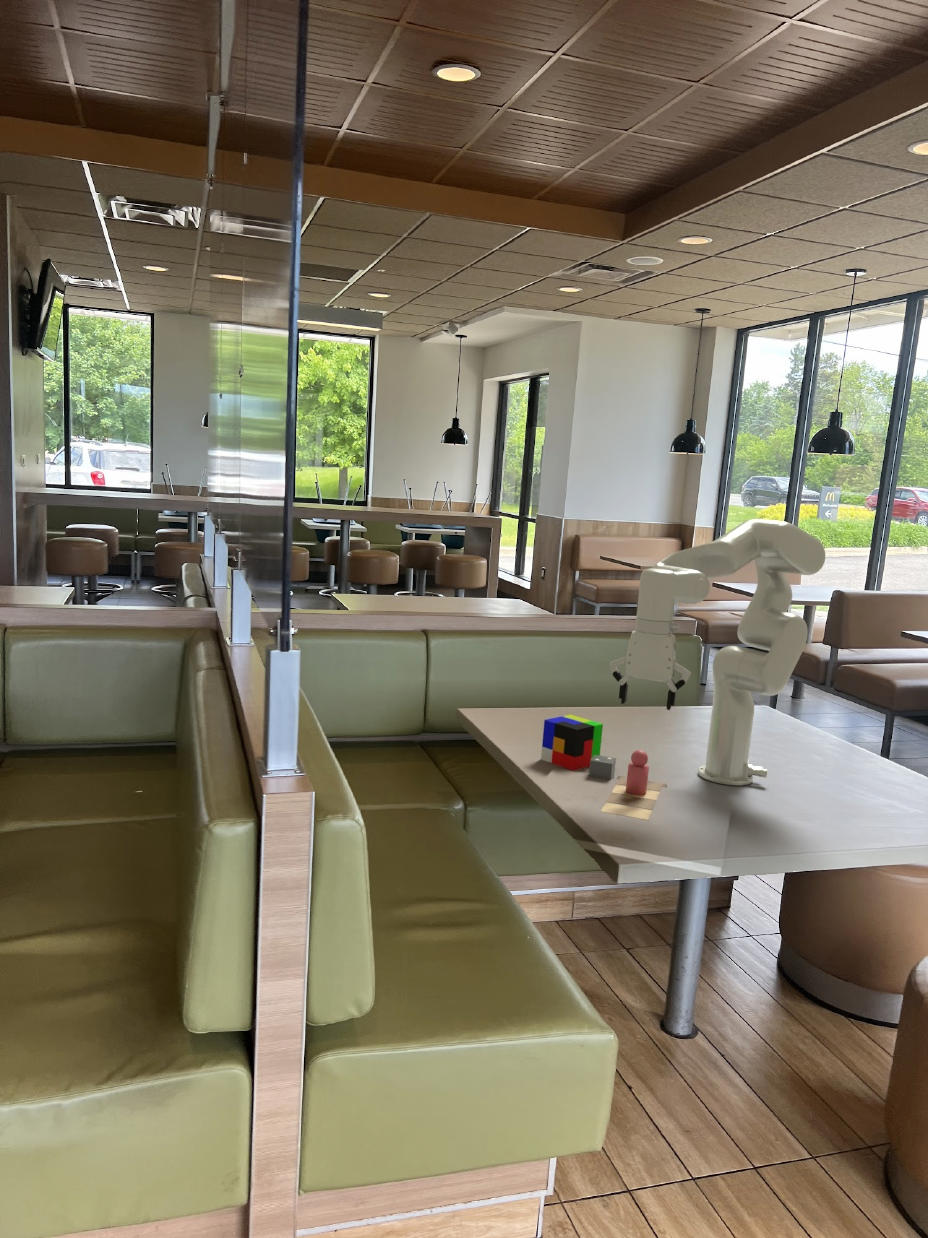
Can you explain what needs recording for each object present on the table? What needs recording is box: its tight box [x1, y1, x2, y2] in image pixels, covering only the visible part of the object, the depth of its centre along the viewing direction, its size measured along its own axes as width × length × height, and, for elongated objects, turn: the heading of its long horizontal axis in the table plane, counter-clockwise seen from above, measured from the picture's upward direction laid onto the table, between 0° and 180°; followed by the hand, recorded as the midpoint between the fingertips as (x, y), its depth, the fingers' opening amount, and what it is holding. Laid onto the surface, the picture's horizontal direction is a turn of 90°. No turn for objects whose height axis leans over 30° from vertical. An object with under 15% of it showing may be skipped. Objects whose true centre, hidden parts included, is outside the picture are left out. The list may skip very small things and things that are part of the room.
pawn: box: [626, 749, 650, 796], centre depth 198 cm, size 4×4×9 cm
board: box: [600, 775, 668, 821], centre depth 196 cm, size 11×27×1 cm, turn 161°
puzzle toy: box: [540, 714, 604, 772], centre depth 221 cm, size 10×10×10 cm
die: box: [588, 754, 617, 781], centre depth 209 cm, size 5×5×5 cm
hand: (646, 705), depth 197 cm, fingers open, 9 cm apart
